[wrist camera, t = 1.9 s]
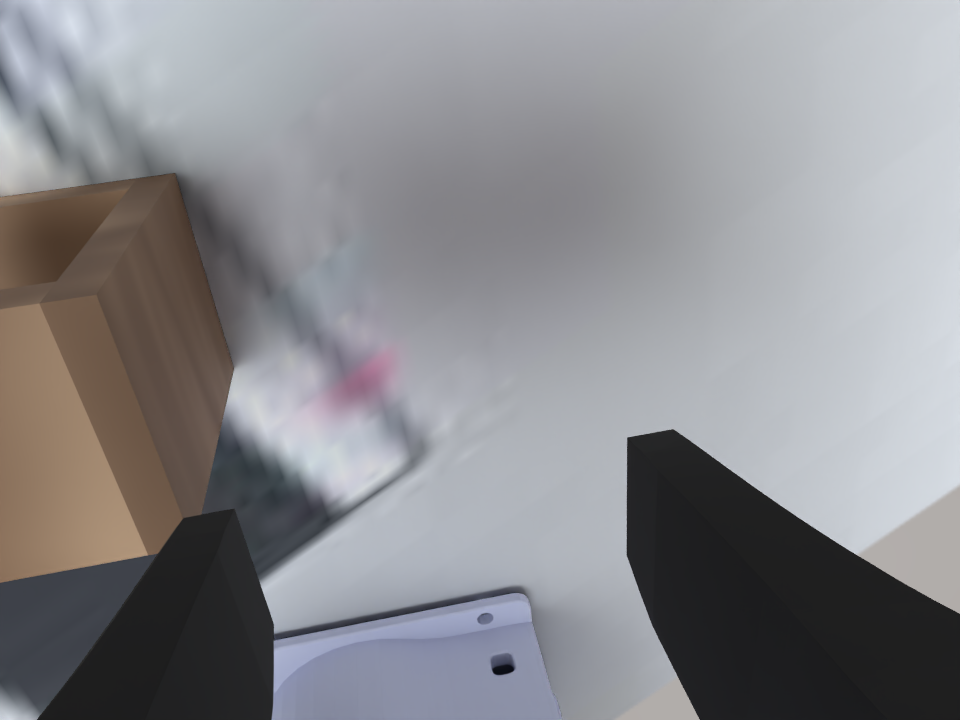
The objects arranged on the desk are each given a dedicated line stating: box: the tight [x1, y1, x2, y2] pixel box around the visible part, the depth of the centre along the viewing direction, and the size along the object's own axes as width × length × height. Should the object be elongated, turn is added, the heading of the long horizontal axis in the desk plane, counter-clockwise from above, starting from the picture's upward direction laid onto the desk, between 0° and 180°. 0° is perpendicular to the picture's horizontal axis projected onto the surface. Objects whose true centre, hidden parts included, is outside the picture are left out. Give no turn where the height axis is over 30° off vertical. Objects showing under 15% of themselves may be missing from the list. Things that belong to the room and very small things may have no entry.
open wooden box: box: [0, 173, 234, 582], centre depth 15 cm, size 4×5×6 cm
